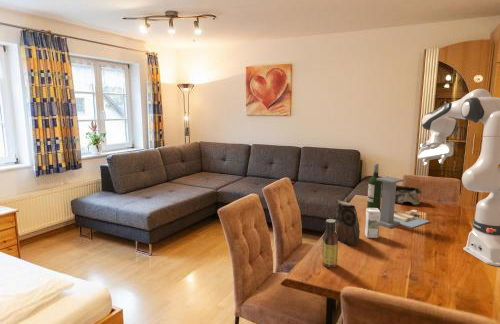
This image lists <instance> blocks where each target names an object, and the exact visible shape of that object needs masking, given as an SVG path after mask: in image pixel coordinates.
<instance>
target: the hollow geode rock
mask: <svg viewBox="0 0 500 324" xmlns="http://www.w3.org/2000/svg"><path fill="white" fill-rule="evenodd" d="M382 188H383V184H382ZM381 193H382V189H381ZM420 194H422V191H420V188H419V187H414V186H413V187H412V186H407V185H405V186H404V185H399V184H396V195H395V203H399V204H403V203H405V202H409V203H411V205H413V206H418V205H420V203H421V201H420V199H419V195H420Z"/></svg>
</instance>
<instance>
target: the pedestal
mask: <svg viewBox="0 0 500 324" xmlns="http://www.w3.org/2000/svg"><path fill="white" fill-rule="evenodd" d="M376 180H378V181H382V185H383V188H382V192H381V204H380V213H381V217H380V224H379V226H382V227H385V228H388V229H390V228H394V227H397V226H399V225H400V222H399V221H395V220H394V211H395V207H396V206H395V205H396V202H395V195H396V185H397V184H398V183H402V182H404V178H397V177H393V176H389V175H387V176H382V177H379V178H376ZM400 226H401V225H400Z"/></svg>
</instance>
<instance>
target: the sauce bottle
mask: <svg viewBox="0 0 500 324" xmlns="http://www.w3.org/2000/svg"><path fill="white" fill-rule="evenodd" d="M335 227H336V220H335V218H334V219H333V218H329V219H327V218H326V220H325V231H324V234H323V236H322V243H321V244H322V245H321V246H322V248H321V249H322V250H321V252H322V254H321V261H322V265H323V266H325V267H327V268H330V269H331V268H336V267H337V265H338V255H339V253H338V251H339V247H338V246H339V241H338V236H337V234H336V229H335Z"/></svg>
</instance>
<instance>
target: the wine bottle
mask: <svg viewBox="0 0 500 324" xmlns="http://www.w3.org/2000/svg"><path fill="white" fill-rule="evenodd" d="M379 165H380V164H379V163H376V162H374V164H373V173H372V176H371V177H370V178H369V179H368V184H367V185H368V187H367V203H366V204H367V205H366V208H378V209H379V211H381V202H382V192H381V189H382V185H383V181H378V180H376V178H380V177H379Z"/></svg>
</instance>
